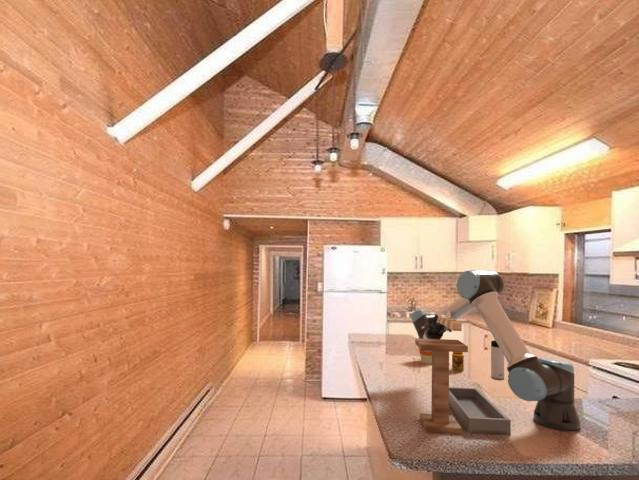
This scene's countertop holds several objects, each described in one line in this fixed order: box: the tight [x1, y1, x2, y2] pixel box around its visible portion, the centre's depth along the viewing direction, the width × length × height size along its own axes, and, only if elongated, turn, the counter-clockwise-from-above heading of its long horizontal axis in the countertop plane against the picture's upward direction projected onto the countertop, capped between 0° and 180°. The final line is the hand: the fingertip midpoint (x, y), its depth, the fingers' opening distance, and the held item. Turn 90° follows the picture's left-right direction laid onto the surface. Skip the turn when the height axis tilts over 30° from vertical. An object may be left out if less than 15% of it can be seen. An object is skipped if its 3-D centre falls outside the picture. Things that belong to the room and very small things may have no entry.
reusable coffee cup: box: [418, 347, 432, 365], centre depth 237 cm, size 13×13×15 cm
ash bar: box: [435, 313, 463, 332], centre depth 158 cm, size 26×3×3 cm, turn 177°
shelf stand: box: [414, 337, 469, 435], centre depth 143 cm, size 12×16×30 cm
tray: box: [449, 386, 512, 436], centre depth 154 cm, size 35×14×5 cm, turn 176°
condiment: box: [449, 352, 467, 373], centre depth 220 cm, size 7×8×12 cm
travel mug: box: [490, 339, 505, 381], centre depth 205 cm, size 6×7×20 cm
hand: (445, 313), depth 162 cm, fingers closed on ash bar, 3 cm apart
